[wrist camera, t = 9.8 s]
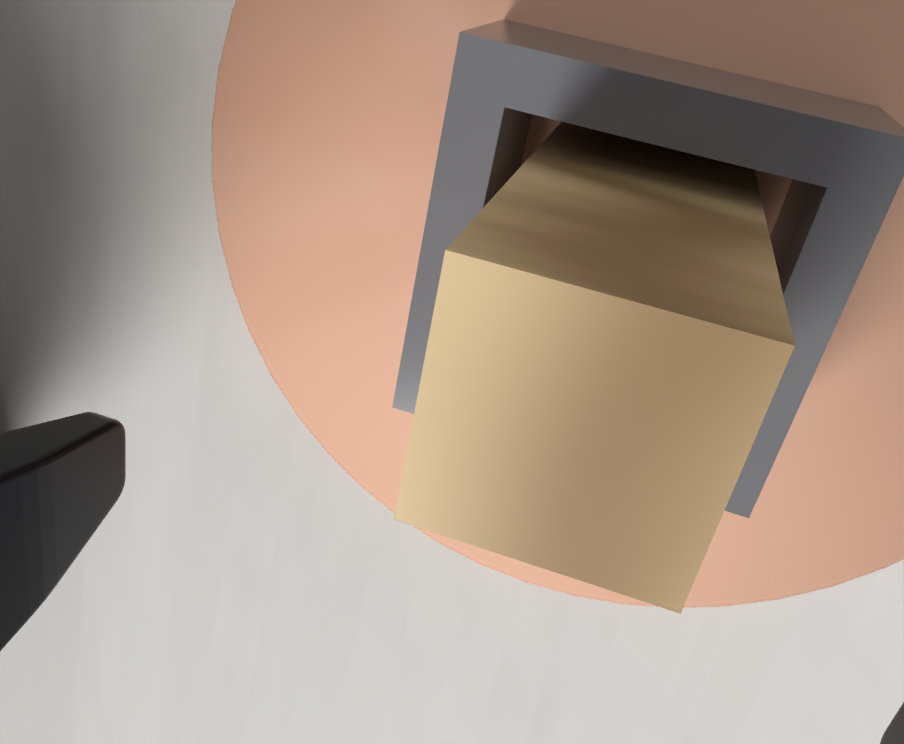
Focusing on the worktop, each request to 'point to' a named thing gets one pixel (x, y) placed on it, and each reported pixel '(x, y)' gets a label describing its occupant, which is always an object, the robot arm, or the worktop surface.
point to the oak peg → (599, 364)
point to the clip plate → (497, 159)
